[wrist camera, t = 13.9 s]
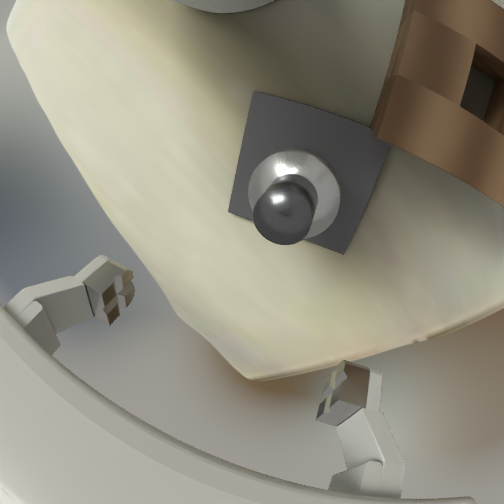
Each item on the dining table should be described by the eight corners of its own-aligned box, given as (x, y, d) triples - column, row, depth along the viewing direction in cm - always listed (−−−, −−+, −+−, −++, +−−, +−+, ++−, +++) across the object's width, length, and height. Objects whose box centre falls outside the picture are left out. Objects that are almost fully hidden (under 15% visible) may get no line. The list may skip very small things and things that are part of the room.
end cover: (352, 154, 22) (354, 188, 14) (327, 220, 25) (315, 279, 18) (278, 129, 22) (241, 150, 15) (260, 196, 26) (221, 244, 19)
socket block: (537, 70, 10) (573, 73, 5) (497, 194, 18) (526, 223, 14) (408, -12, 12) (422, -38, 7) (370, 127, 20) (376, 137, 16)
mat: (391, 136, 20) (393, 137, 20) (344, 251, 27) (343, 254, 27) (255, 91, 22) (253, 91, 21) (230, 209, 29) (228, 211, 28)
